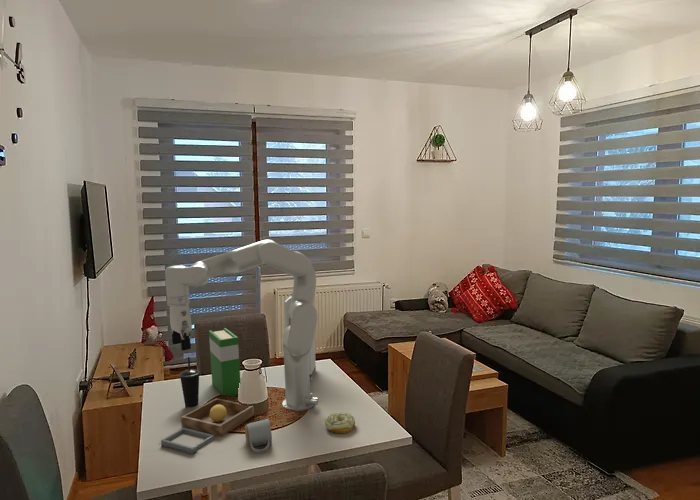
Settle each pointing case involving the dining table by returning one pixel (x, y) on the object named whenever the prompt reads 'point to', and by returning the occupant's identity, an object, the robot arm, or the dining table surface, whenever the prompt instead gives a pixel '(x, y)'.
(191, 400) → the drinking cup
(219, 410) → the ball
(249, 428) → the ceramic mug
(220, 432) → the walnut box
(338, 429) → the decorated donut
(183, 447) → the dish
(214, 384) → the hardback book
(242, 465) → the dining table surface
